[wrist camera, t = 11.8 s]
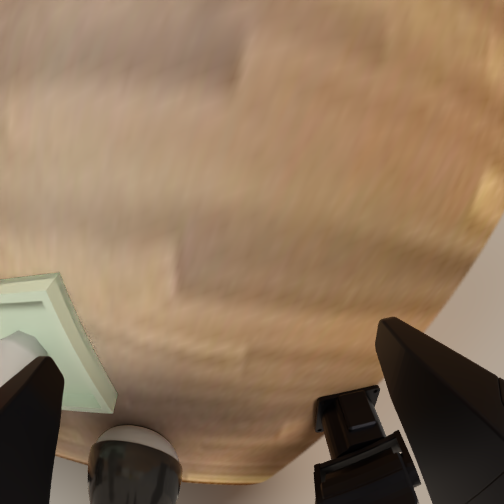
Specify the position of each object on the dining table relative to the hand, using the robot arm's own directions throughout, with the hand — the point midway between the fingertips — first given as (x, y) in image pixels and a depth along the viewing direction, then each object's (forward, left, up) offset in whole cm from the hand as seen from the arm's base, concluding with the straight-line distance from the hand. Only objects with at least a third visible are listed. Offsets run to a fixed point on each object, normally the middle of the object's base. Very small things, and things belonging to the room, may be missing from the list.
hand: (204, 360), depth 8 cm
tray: (-10, +19, -13) cm, 25 cm away
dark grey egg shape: (-25, +13, -13) cm, 31 cm away
